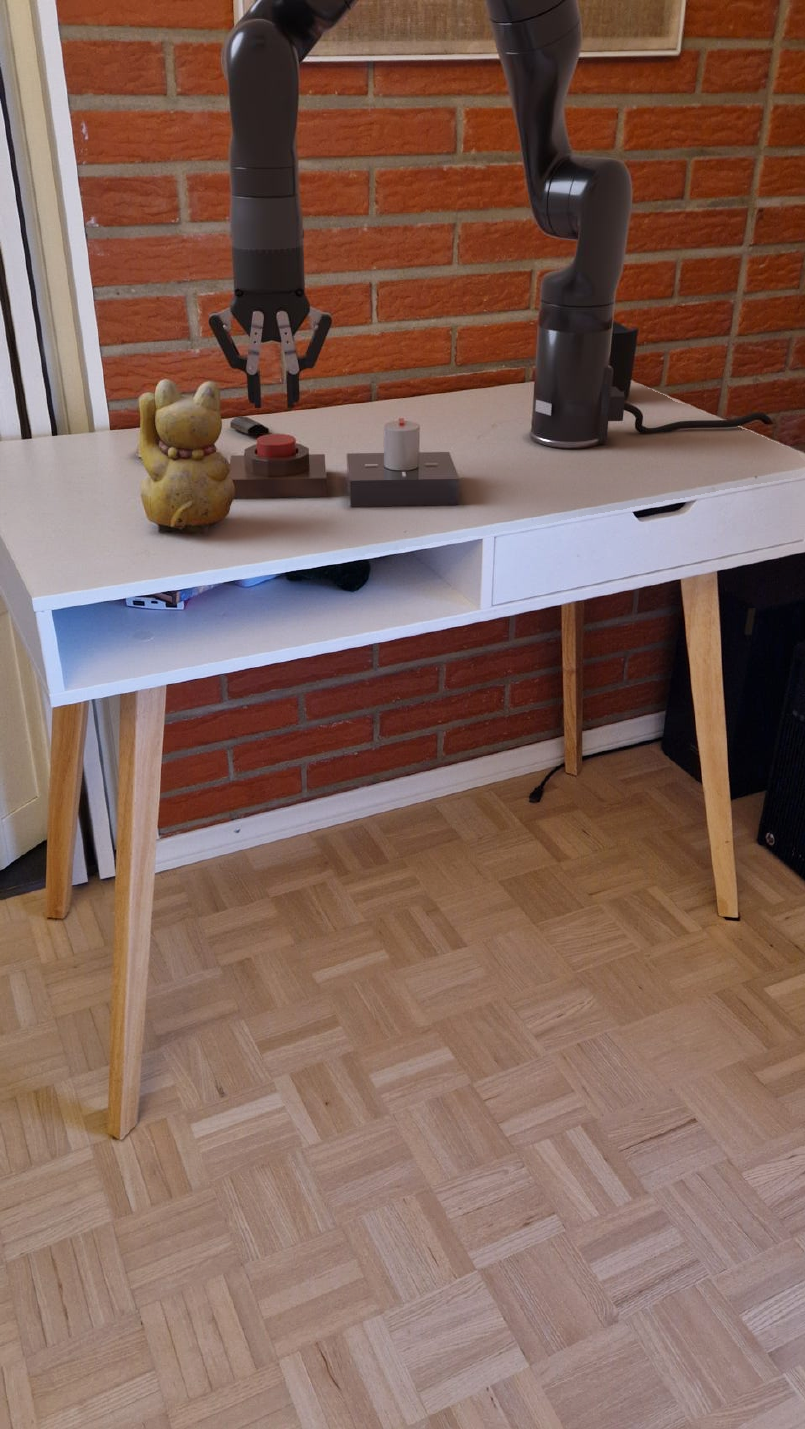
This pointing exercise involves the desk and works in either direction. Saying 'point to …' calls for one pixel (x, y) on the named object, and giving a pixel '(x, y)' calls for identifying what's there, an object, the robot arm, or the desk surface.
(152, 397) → the decorative figurine
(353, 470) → the panel
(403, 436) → the knob
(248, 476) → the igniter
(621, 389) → the dark upright prism
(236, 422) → the block
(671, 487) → the desk surface
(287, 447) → the button
